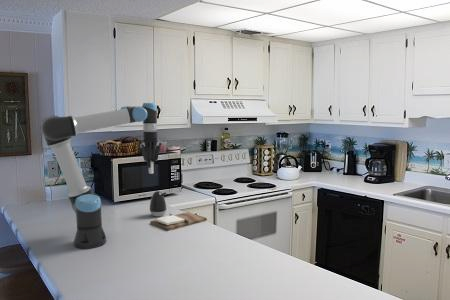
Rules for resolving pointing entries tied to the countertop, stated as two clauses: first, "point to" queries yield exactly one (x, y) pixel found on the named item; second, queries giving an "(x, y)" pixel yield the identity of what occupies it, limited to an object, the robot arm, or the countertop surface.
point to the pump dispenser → (158, 204)
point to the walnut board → (189, 220)
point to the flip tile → (169, 220)
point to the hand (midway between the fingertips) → (151, 173)
